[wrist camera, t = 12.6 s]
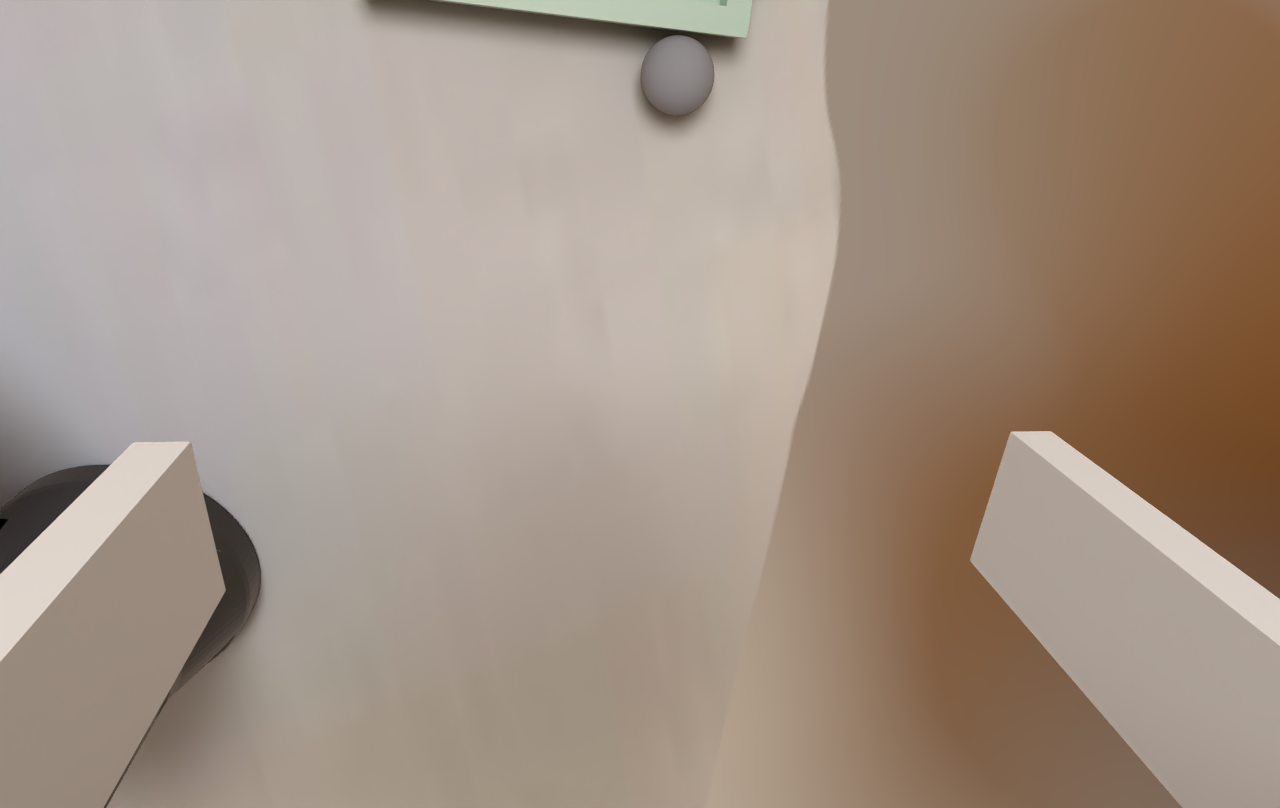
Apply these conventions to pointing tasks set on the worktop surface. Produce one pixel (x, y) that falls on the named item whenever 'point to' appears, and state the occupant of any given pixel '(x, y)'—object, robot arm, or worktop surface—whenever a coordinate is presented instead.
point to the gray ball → (677, 75)
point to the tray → (641, 13)
